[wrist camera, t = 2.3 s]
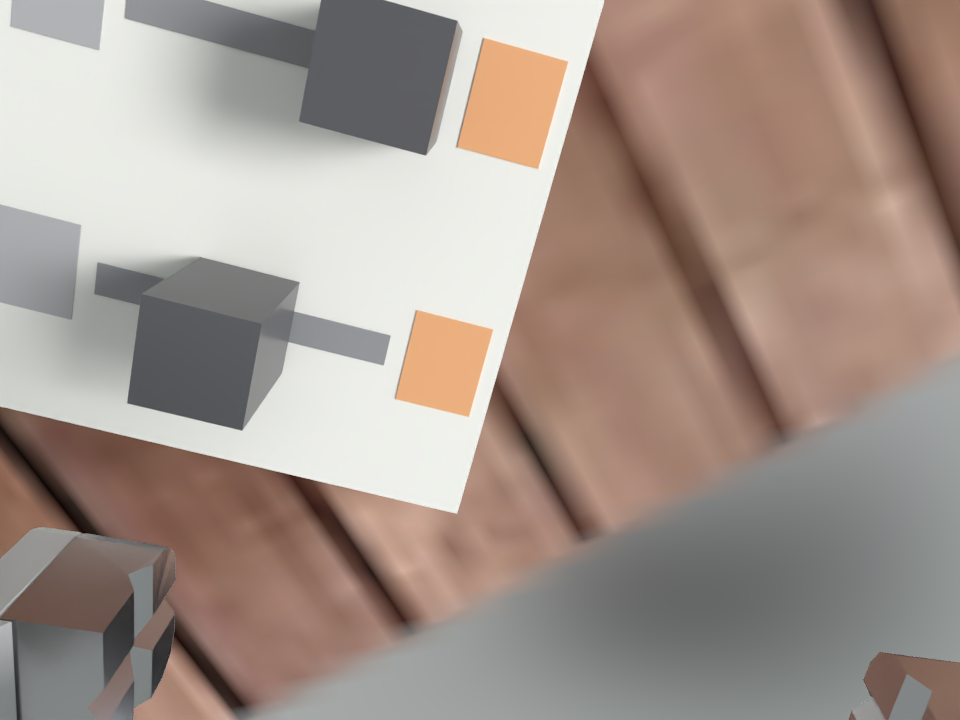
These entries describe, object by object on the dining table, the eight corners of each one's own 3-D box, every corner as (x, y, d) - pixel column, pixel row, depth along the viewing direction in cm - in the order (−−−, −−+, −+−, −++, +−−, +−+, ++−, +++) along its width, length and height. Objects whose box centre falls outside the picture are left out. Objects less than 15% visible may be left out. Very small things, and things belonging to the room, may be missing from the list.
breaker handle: (332, 113, 23) (298, 121, 19) (354, 1, 22) (323, -18, 18) (436, 141, 23) (425, 155, 19) (463, 31, 22) (457, 20, 18)
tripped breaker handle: (185, 349, 25) (127, 403, 21) (200, 256, 24) (141, 294, 20) (282, 373, 25) (242, 430, 21) (299, 282, 25) (261, 324, 20)
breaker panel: (20, 367, 29) (-32, 399, 26) (68, -212, 23) (9, -253, 20) (459, 472, 30) (457, 514, 27) (608, -53, 24) (624, -70, 22)
